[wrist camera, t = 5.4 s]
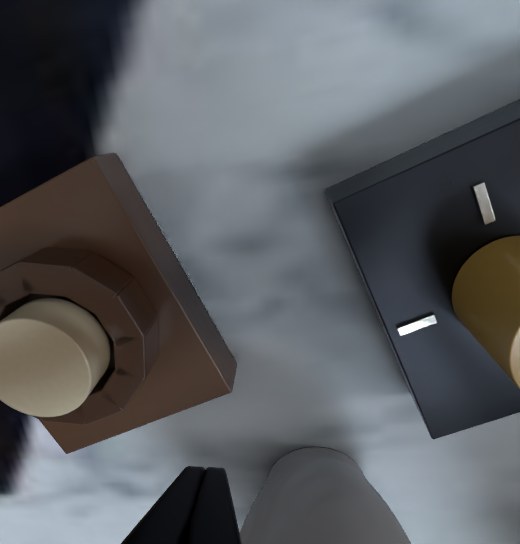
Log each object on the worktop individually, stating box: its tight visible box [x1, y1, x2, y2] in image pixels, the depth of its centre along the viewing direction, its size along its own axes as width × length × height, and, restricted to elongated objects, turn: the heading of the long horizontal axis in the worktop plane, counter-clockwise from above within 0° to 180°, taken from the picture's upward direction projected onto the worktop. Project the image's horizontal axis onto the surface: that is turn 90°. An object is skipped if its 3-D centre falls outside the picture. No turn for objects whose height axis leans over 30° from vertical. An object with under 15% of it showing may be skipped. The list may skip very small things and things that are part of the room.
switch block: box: [0, 153, 237, 454], centre depth 17 cm, size 11×9×4 cm
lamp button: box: [0, 298, 110, 417], centre depth 15 cm, size 4×4×2 cm
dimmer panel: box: [325, 99, 520, 439], centre depth 16 cm, size 11×9×3 cm
